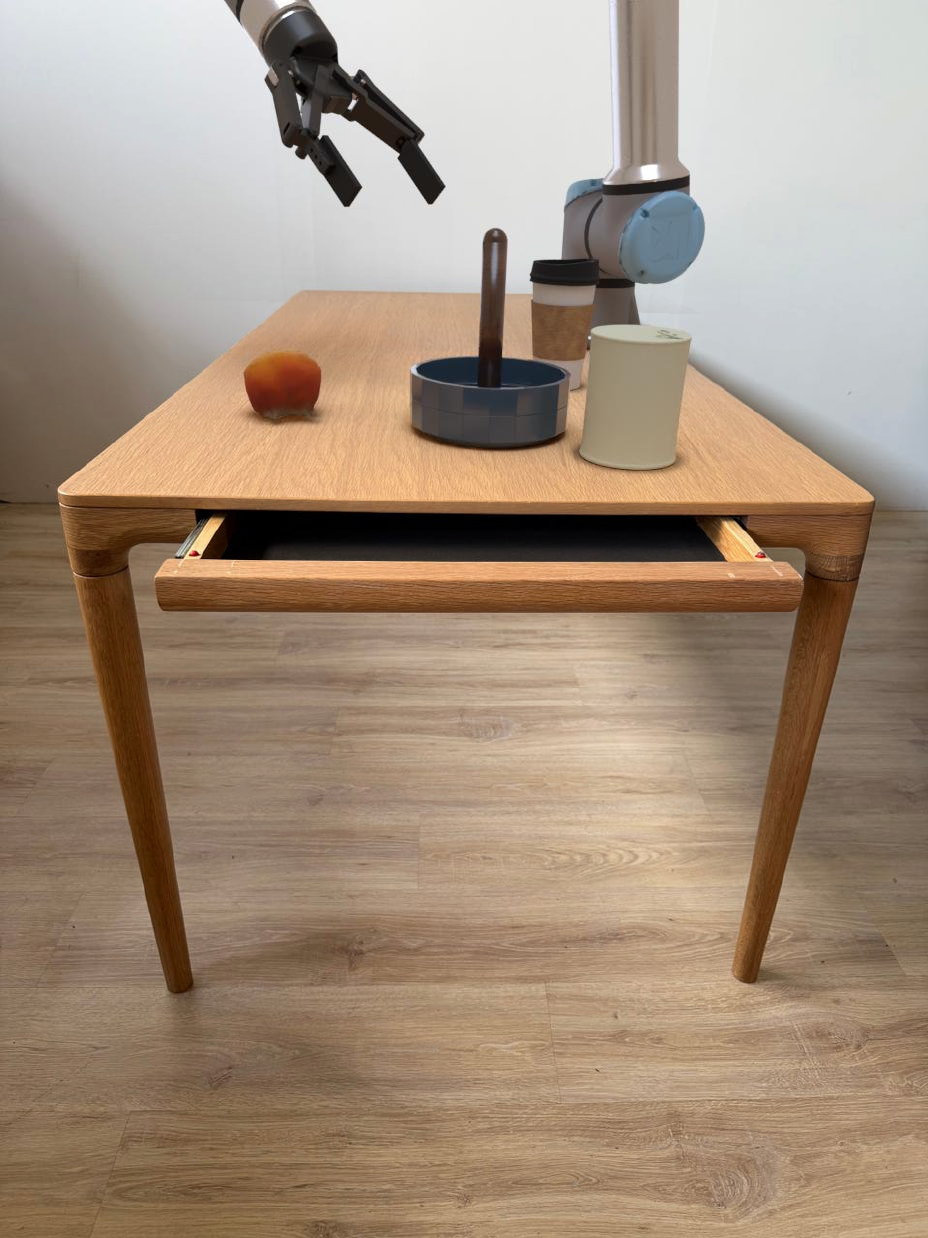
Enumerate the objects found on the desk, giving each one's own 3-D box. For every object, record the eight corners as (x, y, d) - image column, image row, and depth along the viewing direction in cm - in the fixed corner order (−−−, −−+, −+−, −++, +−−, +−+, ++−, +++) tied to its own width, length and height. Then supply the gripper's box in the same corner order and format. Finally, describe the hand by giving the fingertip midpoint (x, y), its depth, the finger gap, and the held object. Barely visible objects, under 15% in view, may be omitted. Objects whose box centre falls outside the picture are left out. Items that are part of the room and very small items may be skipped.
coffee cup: (587, 395, 112) (599, 263, 105) (518, 389, 113) (525, 259, 106) (592, 381, 119) (604, 257, 112) (527, 376, 120) (535, 253, 114)
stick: (496, 413, 99) (505, 225, 90) (520, 425, 95) (531, 229, 86) (455, 418, 96) (460, 225, 88) (477, 429, 93) (485, 229, 84)
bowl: (547, 410, 104) (551, 356, 101) (582, 450, 90) (588, 388, 87) (405, 410, 102) (405, 355, 99) (417, 451, 88) (418, 388, 85)
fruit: (264, 417, 91) (247, 339, 92) (248, 440, 99) (233, 368, 99) (340, 411, 95) (324, 335, 95) (320, 433, 102) (305, 363, 102)
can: (654, 476, 83) (672, 339, 78) (562, 458, 87) (573, 327, 82) (689, 453, 90) (707, 326, 85) (602, 437, 94) (615, 315, 89)
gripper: (353, 76, 111) (449, 218, 110) (183, 56, 93) (295, 225, 92) (385, 21, 106) (486, 170, 105) (212, -11, 88) (331, 168, 87)
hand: (397, 196), depth 98 cm, fingers open, 13 cm apart
